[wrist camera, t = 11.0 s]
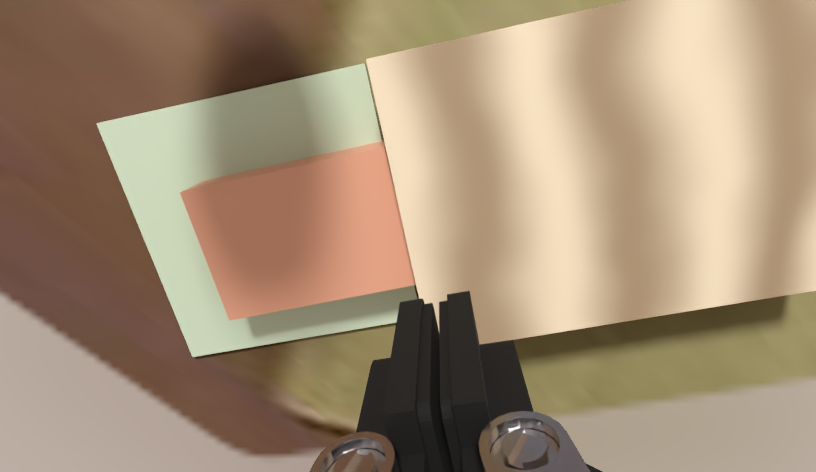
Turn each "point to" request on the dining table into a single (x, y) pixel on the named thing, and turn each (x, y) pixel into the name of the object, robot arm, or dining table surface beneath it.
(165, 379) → the dining table surface
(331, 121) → the mat
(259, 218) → the tile
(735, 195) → the beige box
